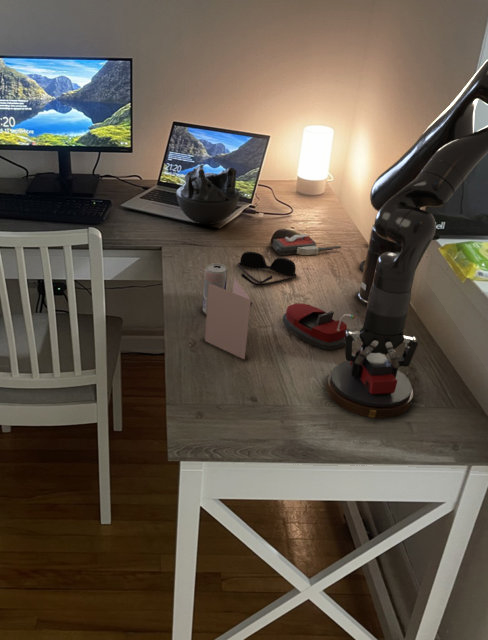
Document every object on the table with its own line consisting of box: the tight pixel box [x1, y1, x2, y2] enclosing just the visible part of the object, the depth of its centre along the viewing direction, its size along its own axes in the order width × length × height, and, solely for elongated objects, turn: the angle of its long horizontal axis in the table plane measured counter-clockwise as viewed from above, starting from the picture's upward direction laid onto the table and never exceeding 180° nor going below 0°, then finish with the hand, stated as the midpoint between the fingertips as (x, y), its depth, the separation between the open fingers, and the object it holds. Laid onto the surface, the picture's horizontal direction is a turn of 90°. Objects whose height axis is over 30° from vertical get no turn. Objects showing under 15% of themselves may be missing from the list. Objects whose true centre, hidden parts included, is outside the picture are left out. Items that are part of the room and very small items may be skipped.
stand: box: [326, 370, 414, 419], centre depth 141 cm, size 17×17×2 cm
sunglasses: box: [237, 251, 298, 287], centre depth 185 cm, size 17×14×5 cm
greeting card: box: [204, 276, 253, 360], centre depth 152 cm, size 11×7×15 cm, turn 12°
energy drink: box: [202, 263, 228, 315], centre depth 167 cm, size 5×5×12 cm
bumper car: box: [282, 302, 356, 351], centre depth 159 cm, size 10×20×10 cm, turn 32°
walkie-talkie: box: [272, 233, 342, 256], centre depth 203 cm, size 9×4×20 cm
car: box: [331, 351, 413, 407], centre depth 138 cm, size 16×16×6 cm
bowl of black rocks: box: [176, 164, 240, 225], centre depth 217 cm, size 20×20×19 cm
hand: (372, 378), depth 139 cm, fingers closed on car, 6 cm apart
